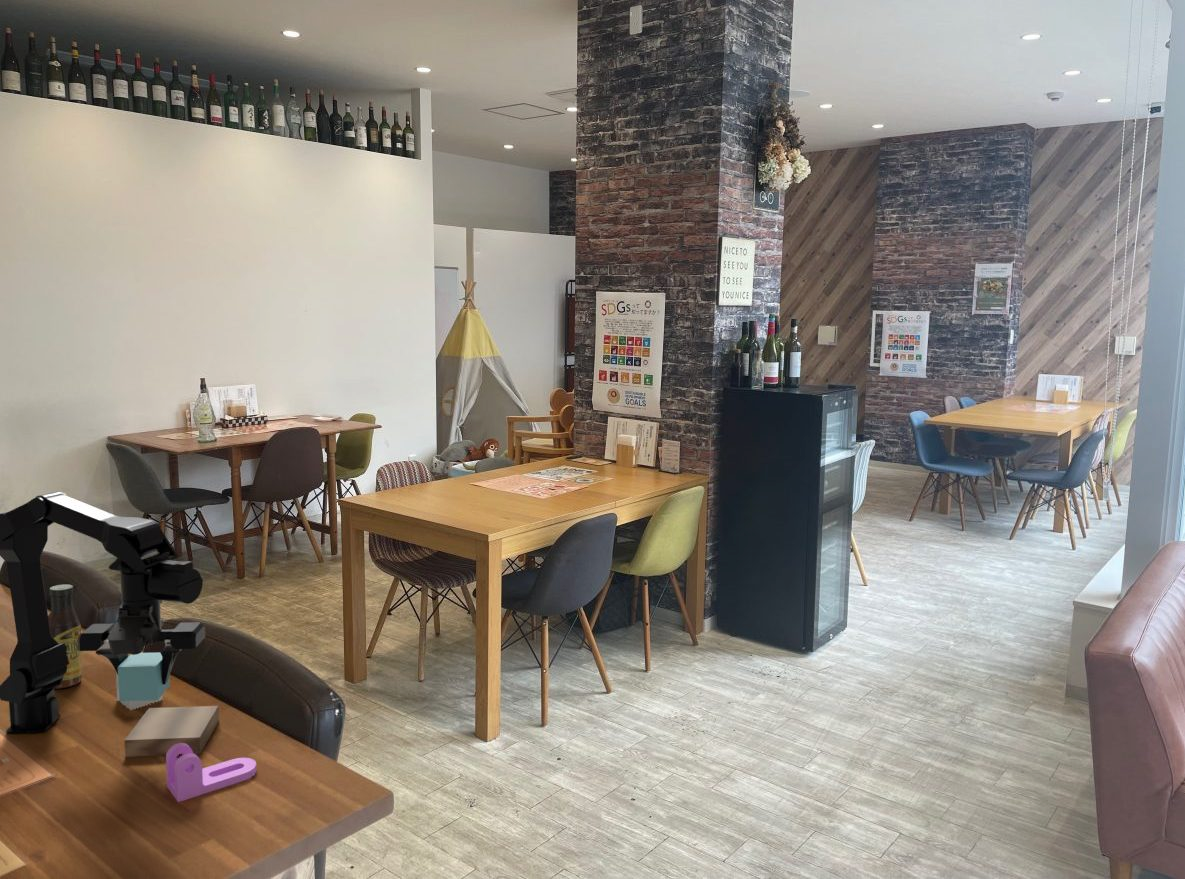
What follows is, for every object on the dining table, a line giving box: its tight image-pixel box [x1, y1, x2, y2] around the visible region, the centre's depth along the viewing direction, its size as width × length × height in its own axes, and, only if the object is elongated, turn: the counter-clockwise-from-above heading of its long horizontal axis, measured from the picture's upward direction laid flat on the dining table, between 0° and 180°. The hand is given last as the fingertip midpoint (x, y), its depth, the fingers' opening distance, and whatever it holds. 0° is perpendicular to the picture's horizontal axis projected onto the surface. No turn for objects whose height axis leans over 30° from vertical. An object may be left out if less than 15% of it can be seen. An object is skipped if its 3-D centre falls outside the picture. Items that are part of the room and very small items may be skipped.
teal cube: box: [118, 652, 171, 701], centre depth 151 cm, size 6×6×6 cm
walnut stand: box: [124, 705, 220, 758], centre depth 156 cm, size 12×12×3 cm
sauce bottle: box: [48, 584, 83, 689], centre depth 175 cm, size 6×6×20 cm
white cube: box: [115, 671, 164, 711], centre depth 170 cm, size 6×6×6 cm
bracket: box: [165, 743, 257, 803], centre depth 143 cm, size 13×6×7 cm, turn 132°
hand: (145, 684), depth 151 cm, fingers closed on teal cube, 6 cm apart
